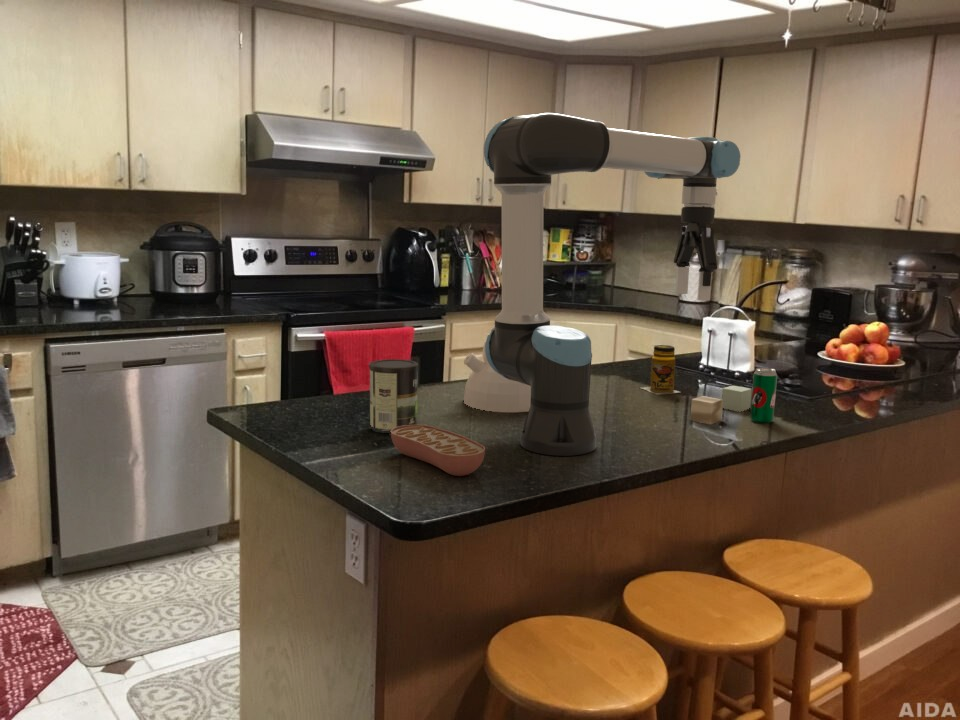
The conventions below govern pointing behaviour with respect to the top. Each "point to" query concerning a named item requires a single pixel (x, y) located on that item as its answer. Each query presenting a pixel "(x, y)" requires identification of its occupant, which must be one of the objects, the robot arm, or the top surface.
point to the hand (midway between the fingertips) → (692, 297)
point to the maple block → (706, 410)
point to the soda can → (763, 395)
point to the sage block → (736, 398)
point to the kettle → (494, 389)
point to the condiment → (662, 370)
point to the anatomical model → (439, 448)
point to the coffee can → (393, 393)
